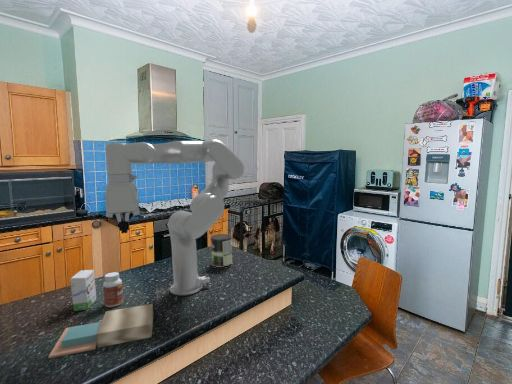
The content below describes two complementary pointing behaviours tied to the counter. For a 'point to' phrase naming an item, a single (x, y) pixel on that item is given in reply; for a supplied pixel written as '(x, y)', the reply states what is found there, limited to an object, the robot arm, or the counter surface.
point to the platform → (125, 325)
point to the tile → (81, 335)
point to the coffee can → (221, 250)
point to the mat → (61, 351)
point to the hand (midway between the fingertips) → (124, 232)
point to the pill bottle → (113, 290)
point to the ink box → (83, 289)
